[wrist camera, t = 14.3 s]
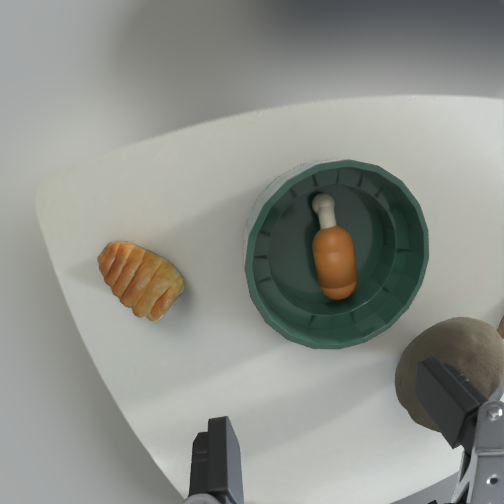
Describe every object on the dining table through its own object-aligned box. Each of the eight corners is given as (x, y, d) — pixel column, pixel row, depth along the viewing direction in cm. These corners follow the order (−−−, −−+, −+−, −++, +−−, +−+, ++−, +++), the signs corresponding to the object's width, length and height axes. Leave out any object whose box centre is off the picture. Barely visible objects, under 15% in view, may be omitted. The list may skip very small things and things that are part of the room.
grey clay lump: (448, 372, 39) (499, 431, 25) (370, 392, 39) (412, 470, 24) (470, 289, 35) (542, 339, 21) (385, 303, 35) (455, 374, 20)
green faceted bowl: (216, 284, 33) (212, 311, 27) (289, 131, 29) (303, 122, 23) (350, 336, 36) (370, 367, 29) (420, 208, 32) (454, 218, 26)
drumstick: (299, 196, 30) (308, 200, 27) (337, 188, 30) (350, 191, 26) (316, 294, 33) (326, 310, 29) (351, 285, 33) (364, 300, 29)
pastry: (93, 271, 32) (79, 283, 28) (122, 222, 31) (109, 229, 27) (160, 320, 34) (153, 337, 30) (193, 275, 33) (189, 288, 29)
